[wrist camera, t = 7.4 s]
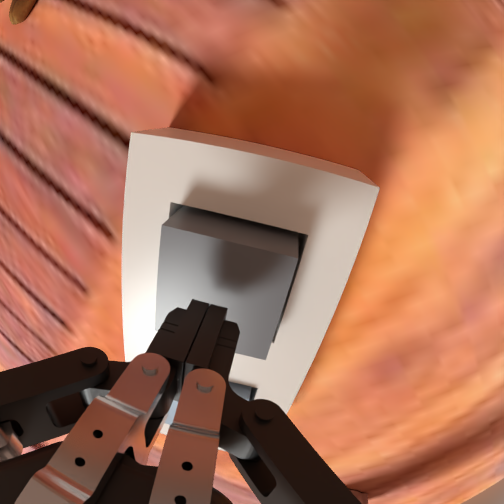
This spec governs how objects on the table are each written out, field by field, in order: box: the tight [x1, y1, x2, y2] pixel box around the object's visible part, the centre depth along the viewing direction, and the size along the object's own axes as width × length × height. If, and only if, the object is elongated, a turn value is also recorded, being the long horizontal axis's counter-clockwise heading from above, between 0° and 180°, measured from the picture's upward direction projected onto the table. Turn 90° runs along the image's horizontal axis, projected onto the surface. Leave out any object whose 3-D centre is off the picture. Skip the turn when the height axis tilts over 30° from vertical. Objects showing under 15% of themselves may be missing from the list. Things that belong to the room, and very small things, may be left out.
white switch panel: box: [122, 127, 380, 451], centre depth 21 cm, size 12×24×5 cm, turn 168°
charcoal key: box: [155, 205, 298, 360], centre depth 16 cm, size 6×6×4 cm
